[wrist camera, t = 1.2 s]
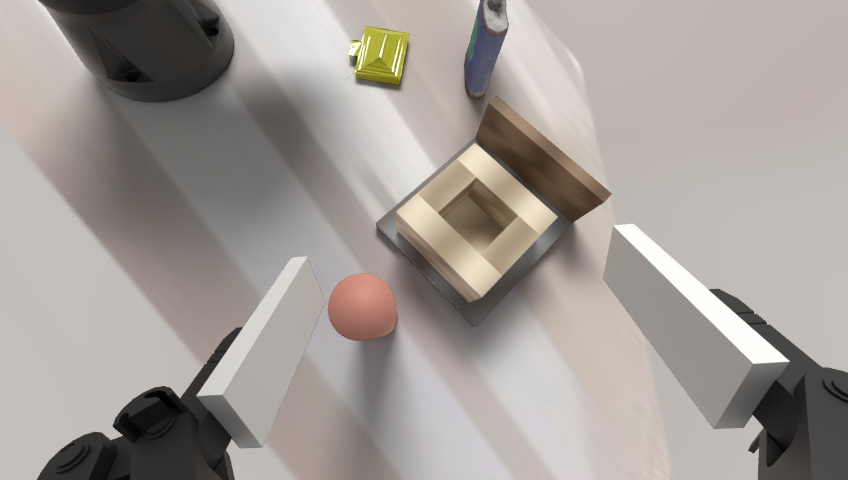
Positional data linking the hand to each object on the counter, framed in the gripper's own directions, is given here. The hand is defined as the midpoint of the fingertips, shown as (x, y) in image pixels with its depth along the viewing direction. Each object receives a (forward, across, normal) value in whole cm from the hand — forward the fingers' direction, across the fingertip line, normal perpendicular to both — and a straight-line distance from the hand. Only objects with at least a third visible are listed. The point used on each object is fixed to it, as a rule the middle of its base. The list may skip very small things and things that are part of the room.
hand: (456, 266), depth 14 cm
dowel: (+10, -8, -13) cm, 18 cm away
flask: (+34, +5, +5) cm, 34 cm away
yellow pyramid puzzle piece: (+34, -7, +8) cm, 35 cm away
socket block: (+17, +1, -8) cm, 18 cm away
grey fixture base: (+18, +3, -8) cm, 20 cm away
